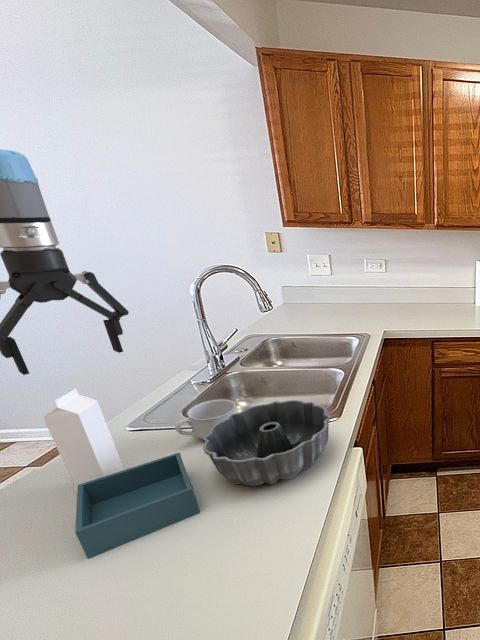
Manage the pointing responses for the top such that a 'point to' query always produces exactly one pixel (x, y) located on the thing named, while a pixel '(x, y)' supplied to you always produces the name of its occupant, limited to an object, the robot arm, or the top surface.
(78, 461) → the milk
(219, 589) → the top surface
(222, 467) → the bundt pan
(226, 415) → the teacup
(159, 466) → the tote
